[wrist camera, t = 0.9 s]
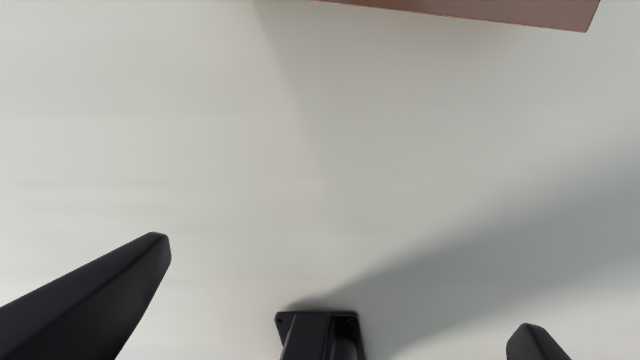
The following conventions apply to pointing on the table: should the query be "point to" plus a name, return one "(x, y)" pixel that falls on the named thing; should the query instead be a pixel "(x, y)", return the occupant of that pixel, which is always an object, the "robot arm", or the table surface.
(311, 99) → the table surface
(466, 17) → the lid
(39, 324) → the robot arm
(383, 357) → the table surface
